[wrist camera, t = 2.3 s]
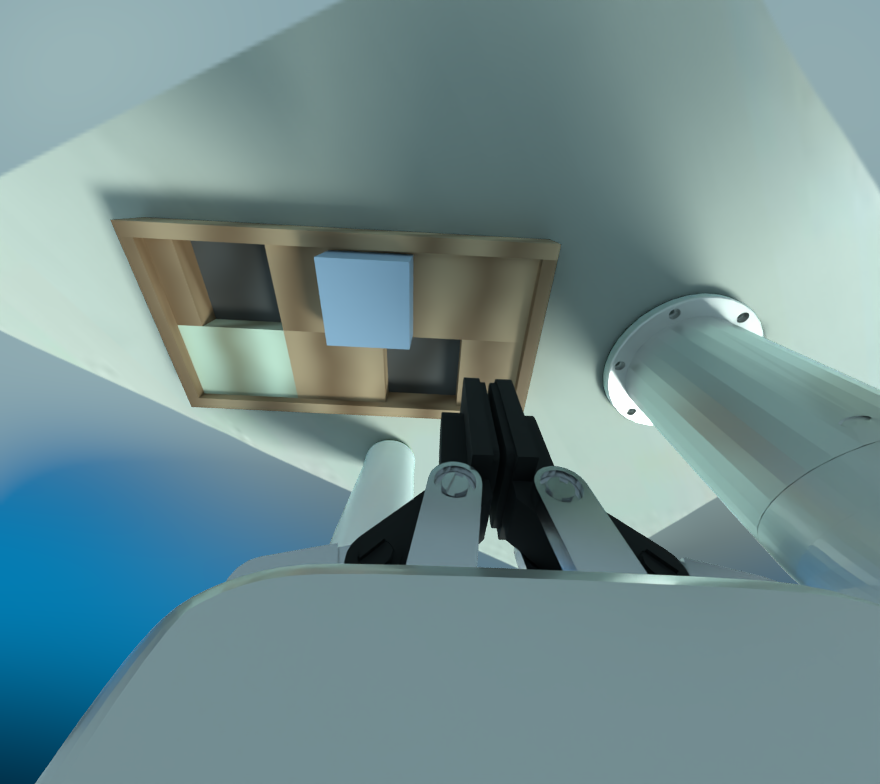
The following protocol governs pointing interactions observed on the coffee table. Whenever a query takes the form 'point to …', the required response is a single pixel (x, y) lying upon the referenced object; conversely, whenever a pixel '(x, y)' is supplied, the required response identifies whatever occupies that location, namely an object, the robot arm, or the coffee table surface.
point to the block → (366, 298)
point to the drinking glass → (377, 490)
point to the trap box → (301, 321)
